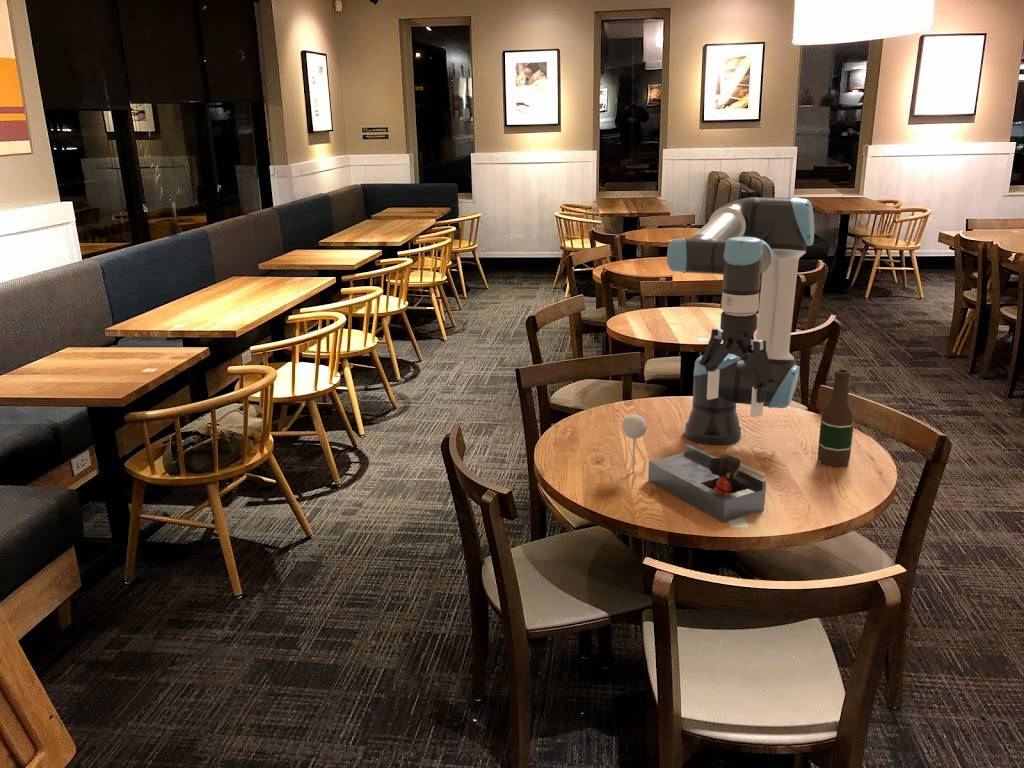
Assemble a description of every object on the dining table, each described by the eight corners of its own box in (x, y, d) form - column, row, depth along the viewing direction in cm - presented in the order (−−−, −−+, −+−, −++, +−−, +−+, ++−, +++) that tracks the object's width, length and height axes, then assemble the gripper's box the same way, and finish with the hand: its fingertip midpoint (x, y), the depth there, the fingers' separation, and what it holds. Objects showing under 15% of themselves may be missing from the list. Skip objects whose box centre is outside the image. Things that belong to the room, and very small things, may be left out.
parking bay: (695, 470, 203) (695, 468, 203) (731, 460, 209) (731, 458, 209) (727, 486, 194) (727, 484, 193) (765, 475, 199) (765, 474, 199)
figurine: (723, 513, 180) (726, 463, 176) (704, 504, 184) (706, 455, 181) (742, 506, 183) (745, 456, 180) (723, 497, 188) (726, 449, 184)
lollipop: (647, 469, 204) (649, 412, 200) (643, 478, 199) (645, 420, 195) (623, 466, 206) (624, 410, 202) (618, 475, 201) (619, 418, 197)
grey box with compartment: (648, 480, 198) (649, 453, 196) (686, 470, 203) (687, 444, 201) (723, 522, 176) (725, 492, 174) (764, 509, 181) (766, 480, 179)
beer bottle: (852, 468, 202) (862, 376, 195) (819, 466, 204) (828, 374, 197) (846, 456, 209) (856, 367, 202) (814, 455, 211) (823, 366, 204)
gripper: (686, 303, 181) (682, 394, 187) (770, 326, 160) (763, 427, 166) (712, 299, 184) (708, 388, 191) (798, 320, 163) (789, 420, 170)
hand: (733, 406), depth 178 cm, fingers open, 13 cm apart
